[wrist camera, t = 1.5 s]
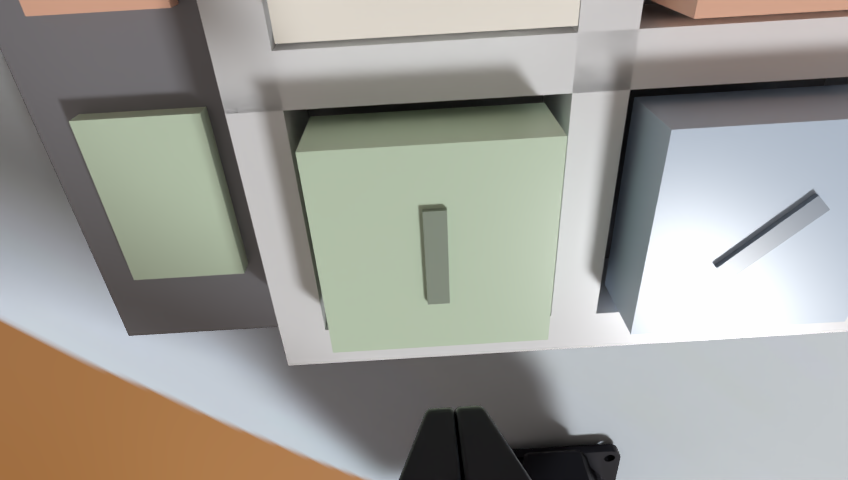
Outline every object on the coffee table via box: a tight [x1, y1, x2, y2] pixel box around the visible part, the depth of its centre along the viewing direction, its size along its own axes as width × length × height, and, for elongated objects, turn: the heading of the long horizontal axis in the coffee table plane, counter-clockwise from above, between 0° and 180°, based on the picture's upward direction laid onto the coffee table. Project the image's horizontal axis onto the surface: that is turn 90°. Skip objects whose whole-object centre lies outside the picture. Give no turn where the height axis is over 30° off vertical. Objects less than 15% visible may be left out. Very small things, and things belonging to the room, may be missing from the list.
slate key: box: [605, 84, 848, 335], centre depth 13 cm, size 5×5×2 cm
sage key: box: [295, 103, 567, 353], centre depth 13 cm, size 5×5×2 cm
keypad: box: [0, 0, 848, 366], centre depth 13 cm, size 17×22×6 cm
